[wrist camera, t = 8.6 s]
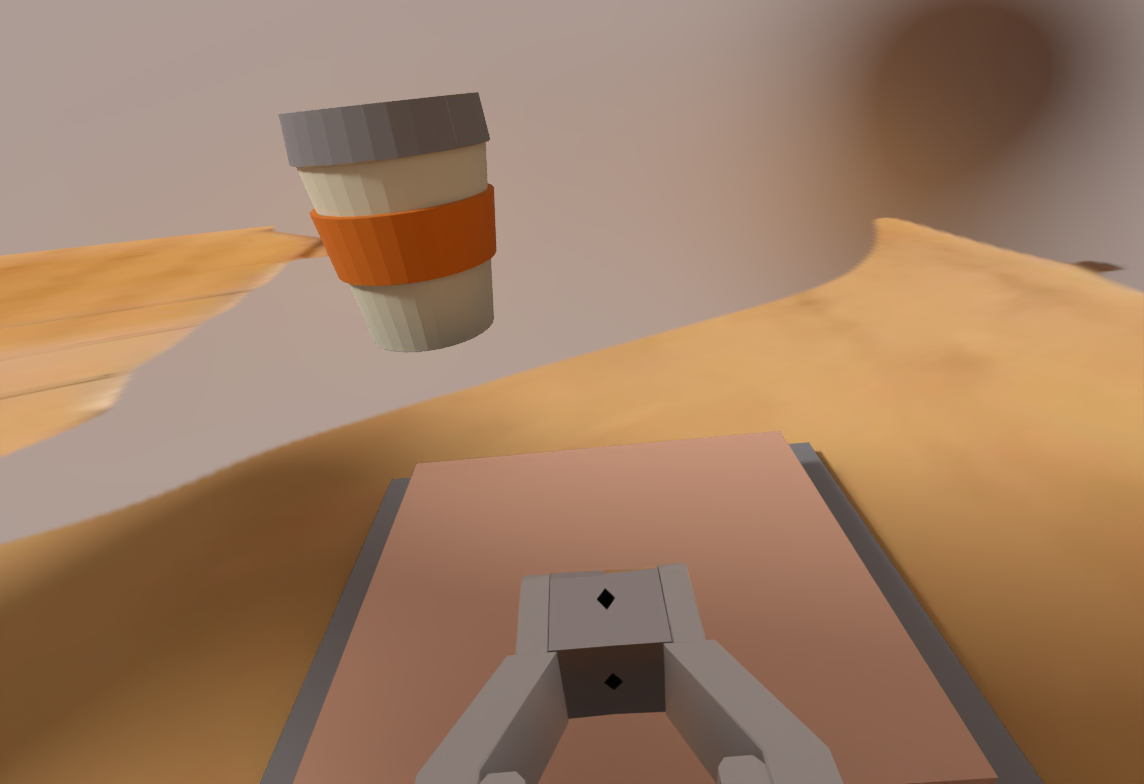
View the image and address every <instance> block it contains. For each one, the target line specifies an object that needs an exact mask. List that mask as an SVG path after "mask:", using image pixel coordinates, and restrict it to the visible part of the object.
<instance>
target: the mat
mask: <svg viewBox="0 0 1144 784" xmlns="http://www.w3.org/2000/svg"><path fill="white" fill-rule="evenodd" d="M789 446H790V447H791V449H792V451H793V452H794V454H795V455H796V457H797V459H798V460H799V462H800V463H801V465H802V467H803V468H804V470H805V471H806V473H807V474H808V476H809V478H810V479H811V481H812V482H813V484H814V486H815V487H816V489H817V490H818V492H819V494H820V495H821V497H822V498H823V500H824V501H825V503H826V505H827V506H828V508H829V509H830V511H831V513H832V514H833V516H834V517H835V519H836V521H837V522H838V524H839V525H840V527H841V528H842V530H843V532H844V533H845V535H846V536H847V538H848V540H849V541H850V543H851V544H852V546H853V548H854V549H855V551H856V552H857V554H858V555H859V557H860V559H861V560H862V562H863V563H864V565H865V567H866V568H867V570H868V571H869V573H870V575H871V576H872V578H873V579H874V581H875V582H876V584H877V586H878V587H879V589H880V590H881V592H882V594H883V595H884V597H885V598H886V600H887V602H888V603H889V605H890V606H891V608H892V609H893V611H894V613H895V614H896V616H897V617H898V619H899V621H900V622H901V624H902V625H903V627H904V629H905V630H906V632H907V633H908V635H909V636H910V638H911V640H912V641H913V643H914V644H915V646H916V648H917V649H918V651H919V652H920V654H921V656H922V657H923V659H924V660H925V662H926V663H927V665H928V667H929V668H930V670H931V671H932V673H933V675H934V676H935V678H936V679H937V681H938V683H939V684H940V686H941V687H942V689H943V690H944V692H945V694H946V695H947V697H948V698H949V700H950V702H951V703H952V705H953V706H954V708H955V710H956V711H957V713H958V714H959V716H960V717H961V719H962V721H963V722H964V724H965V725H966V727H967V729H968V730H969V732H970V733H971V735H972V737H973V738H974V740H975V741H976V743H977V744H978V746H979V748H980V749H981V751H982V752H983V754H984V756H985V757H986V759H987V760H988V762H989V764H990V765H991V767H992V768H993V770H994V771H995V773H996V775H997V776H998V779H997V781H996V783H995V784H1044V783H1043V782H1042V780H1041V779H1040V777H1039V776H1038V774H1037V773H1036V771H1035V770H1034V769H1033V767H1032V766H1031V764H1030V763H1029V761H1028V760H1027V758H1026V757H1025V755H1024V754H1023V753H1022V751H1021V750H1020V748H1019V747H1018V745H1017V744H1016V742H1015V741H1014V739H1013V738H1012V737H1011V735H1010V734H1009V732H1008V731H1007V729H1006V728H1005V726H1004V725H1003V724H1002V722H1001V721H1000V719H999V718H998V716H997V715H996V713H995V712H994V710H993V709H992V708H991V706H990V705H989V703H988V702H987V700H986V699H985V697H984V696H983V695H982V693H981V692H980V690H979V689H978V687H977V686H976V684H975V683H974V681H973V680H972V679H971V677H970V676H969V674H968V673H967V671H966V670H965V668H964V667H963V666H962V664H961V663H960V661H959V660H958V658H957V657H956V655H955V654H954V652H953V651H952V650H951V648H950V647H949V645H948V644H947V642H946V641H945V639H944V638H943V637H942V635H941V634H940V632H939V631H938V629H937V628H936V626H935V625H934V623H933V622H932V621H931V619H930V618H929V616H928V615H927V613H926V612H925V610H924V609H923V608H922V606H921V605H920V603H919V602H918V600H917V599H916V597H915V596H914V594H913V593H912V592H911V590H910V589H909V587H908V586H907V584H906V583H905V581H904V580H903V579H902V577H901V576H900V574H899V573H898V571H897V570H896V568H895V567H894V565H893V564H892V563H891V561H890V560H889V558H888V557H887V555H886V554H885V552H884V551H883V550H882V548H881V547H880V545H879V544H878V542H877V541H876V539H875V538H874V536H873V535H872V534H871V532H870V531H869V529H868V528H867V526H866V525H865V523H864V522H863V521H862V519H861V518H860V516H859V515H858V513H857V512H856V510H855V509H854V507H853V506H852V505H851V503H850V502H849V500H848V499H847V497H846V496H845V494H844V493H843V492H842V490H841V489H840V487H839V486H838V484H837V483H836V481H835V480H834V478H833V477H832V476H831V474H830V473H829V471H828V470H827V468H826V467H825V465H824V464H823V462H822V461H821V460H820V458H819V457H818V455H817V454H816V452H815V451H814V449H813V448H812V447H811V445H810V444H809V442H808V443H797V444H789ZM410 480H411V478H401V479H392V480H391V483H390V485H389V487H388V490H387V492H386V494H385V497H384V499H383V501H382V503H381V506H380V508H379V510H378V513H377V515H376V517H375V520H374V522H373V524H372V527H371V529H370V531H369V533H368V536H367V538H366V540H365V543H364V545H363V547H362V550H361V552H360V554H359V556H358V559H357V561H356V563H355V566H354V568H353V570H352V573H351V575H350V577H349V579H348V582H347V584H346V586H345V589H344V591H343V593H342V596H341V598H340V600H339V602H338V605H337V607H336V609H335V612H334V614H333V616H332V619H331V621H330V623H329V625H328V628H327V630H326V632H325V635H324V637H323V639H322V642H321V644H320V646H319V648H318V651H317V653H316V655H315V658H314V660H313V662H312V665H311V667H310V669H309V671H308V674H307V676H306V678H305V681H304V683H303V685H302V688H301V690H300V692H299V694H298V697H297V699H296V701H295V704H294V706H293V708H292V711H291V713H290V715H289V717H288V720H287V722H286V724H285V727H284V729H283V731H282V734H281V736H280V738H279V740H278V743H277V745H276V747H275V750H274V752H273V754H272V757H271V759H270V761H269V763H268V766H267V768H266V770H265V773H264V775H263V777H262V780H261V782H260V784H293V782H294V779H295V776H296V774H297V771H298V769H299V766H300V764H301V761H302V758H303V756H304V753H305V751H306V748H307V745H308V743H309V740H310V738H311V735H312V733H313V730H314V727H315V725H316V722H317V720H318V717H319V714H320V712H321V709H322V707H323V704H324V702H325V699H326V696H327V694H328V691H329V689H330V686H331V683H332V681H333V678H334V676H335V673H336V671H337V668H338V665H339V663H340V660H341V658H342V655H343V653H344V650H345V647H346V645H347V642H348V640H349V637H350V634H351V632H352V629H353V627H354V624H355V622H356V619H357V616H358V614H359V611H360V609H361V606H362V603H363V601H364V598H365V596H366V593H367V591H368V588H369V585H370V583H371V580H372V578H373V575H374V572H375V570H376V567H377V565H378V562H379V560H380V557H381V554H382V552H383V549H384V547H385V544H386V542H387V539H388V536H389V534H390V531H391V529H392V526H393V523H394V521H395V518H396V516H397V513H398V511H399V508H400V505H401V503H402V500H403V498H404V495H405V492H406V490H407V487H408V485H409V482H410Z"/></svg>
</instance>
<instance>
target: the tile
mask: <svg viewBox="0 0 1144 784" xmlns="http://www.w3.org/2000/svg"><path fill="white" fill-rule="evenodd" d="M675 563H684V564H685V565H686V566H687V569H688V573H689V576H690V580H691V584H692V588H693V592H694V595H695V599H696V603H697V607H698V611H699V614H700V618H701V622H702V626H703V630H704V633H705V637H706V640H716V641H717V642H718V643H719V644H720V645H721V646H722V647H723V648H724V649H725V650H726V651H727V652H728V653H729V654H730V655H732V656H733V657H734V658H735V659H736V660H737V661H738V662H739V663H740V664H741V665H742V666H743V667H744V668H745V669H746V670H747V671H748V672H749V673H751V674H752V675H753V676H754V677H755V678H756V679H757V680H758V681H759V682H760V683H761V684H762V685H763V686H764V687H765V688H766V689H767V690H768V691H770V692H771V693H772V694H773V695H774V696H775V697H776V698H777V699H778V700H779V701H780V702H781V703H782V704H783V705H784V706H785V707H786V708H787V709H789V710H790V711H791V712H792V713H793V714H794V715H795V716H796V717H797V718H798V719H799V720H800V721H801V722H802V723H803V724H804V725H805V726H806V727H808V728H809V729H810V730H811V731H812V732H813V733H814V734H815V735H816V736H817V737H818V738H819V739H820V740H821V741H822V742H823V743H824V744H825V745H827V746H828V747H829V749H830V752H831V754H832V757H833V759H834V762H835V764H836V767H837V769H838V771H839V774H840V776H841V779H842V781H843V784H995V783H996V781H997V779H998V776H997V775H996V773H995V771H994V770H993V768H992V767H991V765H990V764H989V762H988V760H987V759H986V757H985V756H984V754H983V752H982V751H981V749H980V748H979V746H978V744H977V743H976V741H975V740H974V738H973V737H972V735H971V733H970V732H969V730H968V729H967V727H966V725H965V724H964V722H963V721H962V719H961V717H960V716H959V714H958V713H957V711H956V710H955V708H954V706H953V705H952V703H951V702H950V700H949V698H948V697H947V695H946V694H945V692H944V690H943V689H942V687H941V686H940V684H939V683H938V681H937V679H936V678H935V676H934V675H933V673H932V671H931V670H930V668H929V667H928V665H927V663H926V662H925V660H924V659H923V657H922V656H921V654H920V652H919V651H918V649H917V648H916V646H915V644H914V643H913V641H912V640H911V638H910V636H909V635H908V633H907V632H906V630H905V629H904V627H903V625H902V624H901V622H900V621H899V619H898V617H897V616H896V614H895V613H894V611H893V609H892V608H891V606H890V605H889V603H888V602H887V600H886V598H885V597H884V595H883V594H882V592H881V590H880V589H879V587H878V586H877V584H876V582H875V581H874V579H873V578H872V576H871V575H870V573H869V571H868V570H867V568H866V567H865V565H864V563H863V562H862V560H861V559H860V557H859V555H858V554H857V552H856V551H855V549H854V548H853V546H852V544H851V543H850V541H849V540H848V538H847V536H846V535H845V533H844V532H843V530H842V528H841V527H840V525H839V524H838V522H837V521H836V519H835V517H834V516H833V514H832V513H831V511H830V509H829V508H828V506H827V505H826V503H825V501H824V500H823V498H822V497H821V495H820V494H819V492H818V490H817V489H816V487H815V486H814V484H813V482H812V481H811V479H810V478H809V476H808V474H807V473H806V471H805V470H804V468H803V467H802V465H801V463H800V462H799V460H798V459H797V457H796V455H795V454H794V452H793V451H792V449H791V447H790V446H789V444H788V443H787V441H786V440H785V438H784V436H783V435H782V433H781V432H780V431H775V432H763V433H752V434H741V435H730V436H719V437H708V438H696V439H685V440H674V441H663V442H652V443H640V444H629V445H618V446H607V447H596V448H585V449H573V450H562V451H551V452H540V453H529V454H517V455H506V456H495V457H484V458H473V459H462V460H450V461H439V462H428V463H417V464H416V467H415V469H414V472H413V474H412V477H411V480H410V482H409V485H408V487H407V490H406V492H405V495H404V498H403V500H402V503H401V505H400V508H399V511H398V513H397V516H396V518H395V521H394V523H393V526H392V529H391V531H390V534H389V536H388V539H387V542H386V544H385V547H384V549H383V552H382V554H381V557H380V560H379V562H378V565H377V567H376V570H375V572H374V575H373V578H372V580H371V583H370V585H369V588H368V591H367V593H366V596H365V598H364V601H363V603H362V606H361V609H360V611H359V614H358V616H357V619H356V622H355V624H354V627H353V629H352V632H351V634H350V637H349V640H348V642H347V645H346V647H345V650H344V653H343V655H342V658H341V660H340V663H339V665H338V668H337V671H336V673H335V676H334V678H333V681H332V683H331V686H330V689H329V691H328V694H327V696H326V699H325V702H324V704H323V707H322V709H321V712H320V714H319V717H318V720H317V722H316V725H315V727H314V730H313V733H312V735H311V738H310V740H309V743H308V745H307V748H306V751H305V753H304V756H303V758H302V761H301V764H300V766H299V769H298V771H297V774H296V776H295V779H294V782H293V784H415V780H416V775H417V774H418V773H419V771H420V770H421V769H422V767H423V766H424V765H425V763H426V762H427V761H428V759H429V758H430V757H431V755H432V754H433V753H434V751H435V750H436V749H437V748H438V746H439V745H440V744H441V742H442V741H443V740H444V738H445V737H446V736H447V734H448V733H449V732H450V730H451V729H452V728H453V726H454V725H455V724H456V722H457V721H458V720H459V718H460V717H461V716H462V714H463V713H464V712H465V710H466V709H467V708H468V706H469V705H470V704H471V702H472V701H473V700H474V698H475V697H476V696H477V695H478V693H479V692H480V691H481V689H482V688H483V687H484V685H485V684H486V683H487V681H488V680H489V679H490V677H491V676H492V675H493V673H494V672H495V671H496V669H497V668H498V667H499V665H500V664H501V663H502V661H503V660H504V659H505V657H506V656H508V655H515V650H516V638H517V626H518V614H519V602H520V590H521V582H522V579H523V576H524V575H541V574H551V573H568V572H586V571H604V570H607V569H618V568H629V567H639V566H650V565H656V566H657V565H664V564H675ZM616 713H617V711H616ZM568 721H569V723H568V725H567V727H566V729H565V731H564V733H563V735H562V737H561V739H560V741H559V743H558V745H557V747H556V749H555V751H554V753H553V755H552V757H551V759H550V761H549V763H548V764H547V766H546V768H545V770H544V772H543V774H542V776H541V778H540V780H539V782H538V784H716V782H715V781H714V780H713V778H712V777H711V776H710V774H709V773H708V771H707V770H706V769H705V767H704V766H703V765H702V763H701V762H700V761H699V759H698V758H697V756H696V755H695V754H694V752H693V751H692V750H691V748H690V747H689V746H688V744H687V743H686V742H685V740H684V739H683V737H682V736H681V735H680V733H679V732H678V731H677V729H676V728H675V727H674V725H673V724H672V722H671V721H670V720H669V718H668V717H667V716H666V712H651V713H629V714H612V715H602V716H592V717H583V718H573V719H568Z"/></svg>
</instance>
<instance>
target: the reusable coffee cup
mask: <svg viewBox="0 0 1144 784" xmlns="http://www.w3.org/2000/svg"><path fill="white" fill-rule="evenodd" d="M279 118H280V122H281V126H282V132H283V136H284V141H285V146H286V150H287V155H288V160H289V164H290V166H293V167H296V168H297V170H298V172H299V174H300V177H301V179H302V181H303V183H304V186H305V187H306V190H307V192H308V194H309V197H310V199H311V201H312V203H313V205H314V208H315V209H314V210H312V212H311V213H310V215H311V217H312V220H313V222H314V224H315V226H316V229H317V231H318V233H319V235H320V237H321V240H322V242H323V244H324V246H325V248H326V251H327V253H328V255H329V257H330V259H331V262H332V264H333V266H334V268H335V270H336V272H337V275H338V277H339V279H340V280H342V281H343V282H346V283H348V284H349V286H350V288H351V290H352V293H353V294H354V297H355V299H356V301H357V304H358V306H359V308H360V310H361V312H362V314H363V317H364V319H365V321H366V323H367V326H368V328H369V330H370V333H371V335H372V337H373V339H374V341H375V344H377V345H378V346H379V347H381V348H383V349H385V350H390V351H395V352H422V351H430V350H436V349H441V348H445V347H449V346H453V345H456V344H459V343H462V342H465V341H467V340H470V339H472V338H474V337H476V336H478V335H479V334H481V333H483V332H484V331H485V330H487V329H488V328H489V327H490V326H491V324H492V323H493V319H494V315H493V293H492V272H491V258H492V257H493V256H494V255H495V252H496V230H495V206H494V187H493V186H492V185H490V184H488V183H487V162H486V141H489V140H490V137H489V133H488V129H487V125H486V121H485V117H484V113H483V109H482V105H481V102H480V98H479V94H478V92H476V93H467V94H456V95H447V96H438V97H428V98H419V99H410V100H401V101H392V102H383V103H374V104H365V105H357V106H347V107H338V108H329V109H320V110H312V111H304V112H296V113H287V114H279Z"/></svg>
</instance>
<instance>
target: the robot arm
mask: <svg viewBox="0 0 1144 784" xmlns="http://www.w3.org/2000/svg"><path fill="white" fill-rule="evenodd" d="M616 711H617V713H616ZM651 712H666V716H667V717H668V718H669V720H670V721H671V722H672V724H673V725H674V727H675V728H676V729H677V731H678V732H679V733H680V735H681V736H682V737H683V739H684V740H685V742H686V743H687V744H688V746H689V747H690V748H691V750H692V751H693V752H694V754H695V755H696V756H697V758H698V759H699V761H700V762H701V763H702V765H703V766H704V767H705V769H706V770H707V771H708V773H709V774H710V776H711V777H712V778H713V780H714V781H715V782H716V784H843V781H842V779H841V776H840V774H839V771H838V769H837V767H836V764H835V762H834V759H833V757H832V754H831V752H830V749H829V747H828V746H827V745H825V744H824V743H823V742H822V741H821V740H820V739H819V738H818V737H817V736H816V735H815V734H814V733H813V732H812V731H811V730H810V729H809V728H808V727H806V726H805V725H804V724H803V723H802V722H801V721H800V720H799V719H798V718H797V717H796V716H795V715H794V714H793V713H792V712H791V711H790V710H789V709H787V708H786V707H785V706H784V705H783V704H782V703H781V702H780V701H779V700H778V699H777V698H776V697H775V696H774V695H773V694H772V693H771V692H770V691H768V690H767V689H766V688H765V687H764V686H763V685H762V684H761V683H760V682H759V681H758V680H757V679H756V678H755V677H754V676H753V675H752V674H751V673H749V672H748V671H747V670H746V669H745V668H744V667H743V666H742V665H741V664H740V663H739V662H738V661H737V660H736V659H735V658H734V657H733V656H732V655H730V654H729V653H728V652H727V651H726V650H725V649H724V648H723V647H722V646H721V645H720V644H719V643H718V642H717V641H716V640H706V637H705V633H704V630H703V626H702V622H701V618H700V614H699V611H698V607H697V603H696V599H695V595H694V592H693V588H692V584H691V580H690V576H689V573H688V569H687V566H686V565H685V564H684V563H675V564H664V565H657V566H656V565H650V566H639V567H629V568H618V569H607V570H604V571H586V572H568V573H551V574H541V575H524V576H523V579H522V582H521V590H520V602H519V614H518V626H517V638H516V650H515V655H508V656H506V657H505V659H504V660H503V661H502V663H501V664H500V665H499V667H498V668H497V669H496V671H495V672H494V673H493V675H492V676H491V677H490V679H489V680H488V681H487V683H486V684H485V685H484V687H483V688H482V689H481V691H480V692H479V693H478V695H477V696H476V697H475V698H474V700H473V701H472V702H471V704H470V705H469V706H468V708H467V709H466V710H465V712H464V713H463V714H462V716H461V717H460V718H459V720H458V721H457V722H456V724H455V725H454V726H453V728H452V729H451V730H450V732H449V733H448V734H447V736H446V737H445V738H444V740H443V741H442V742H441V744H440V745H439V746H438V748H437V749H436V750H435V751H434V753H433V754H432V755H431V757H430V758H429V759H428V761H427V762H426V763H425V765H424V766H423V767H422V769H421V770H420V771H419V773H418V774H417V775H416V780H415V784H538V782H539V780H540V778H541V776H542V774H543V772H544V770H545V768H546V766H547V764H548V763H549V761H550V759H551V757H552V755H553V753H554V751H555V749H556V747H557V745H558V743H559V741H560V739H561V737H562V735H563V733H564V731H565V729H566V727H567V725H568V723H569V721H568V719H573V718H583V717H592V716H602V715H612V714H629V713H651Z"/></svg>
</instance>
